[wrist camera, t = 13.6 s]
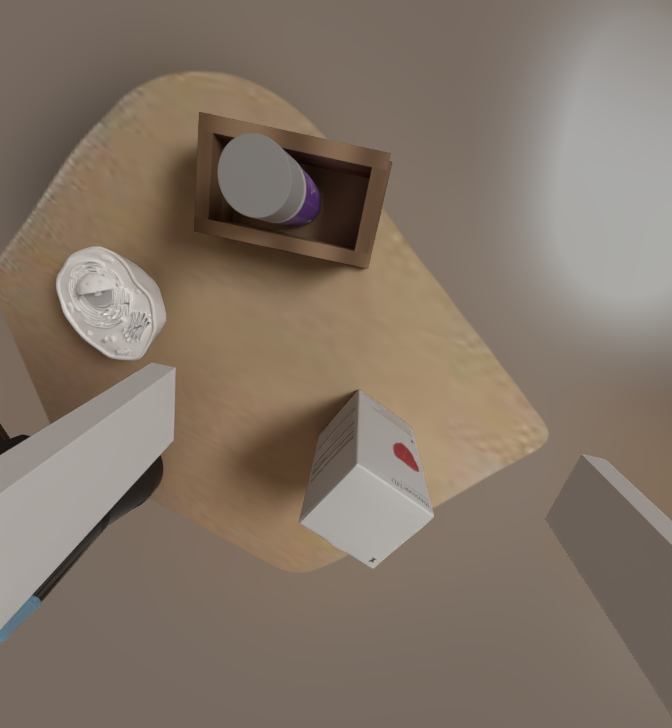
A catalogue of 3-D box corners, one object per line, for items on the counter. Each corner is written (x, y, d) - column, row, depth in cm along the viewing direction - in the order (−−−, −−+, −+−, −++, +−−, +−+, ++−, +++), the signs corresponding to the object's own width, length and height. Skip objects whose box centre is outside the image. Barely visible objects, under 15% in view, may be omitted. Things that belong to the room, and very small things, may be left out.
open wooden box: (219, 236, 37) (188, 236, 30) (226, 128, 33) (193, 101, 26) (367, 267, 37) (369, 275, 30) (391, 163, 33) (398, 146, 26)
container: (331, 193, 33) (308, 163, 19) (305, 236, 35) (268, 236, 21) (290, 164, 33) (237, 110, 19) (267, 208, 34) (201, 189, 20)
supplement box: (414, 427, 43) (439, 519, 29) (370, 471, 46) (373, 573, 32) (358, 386, 42) (357, 462, 28) (316, 434, 45) (295, 525, 31)
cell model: (117, 352, 43) (74, 373, 36) (76, 253, 38) (20, 257, 32) (192, 342, 41) (161, 361, 35) (159, 238, 37) (117, 239, 31)
